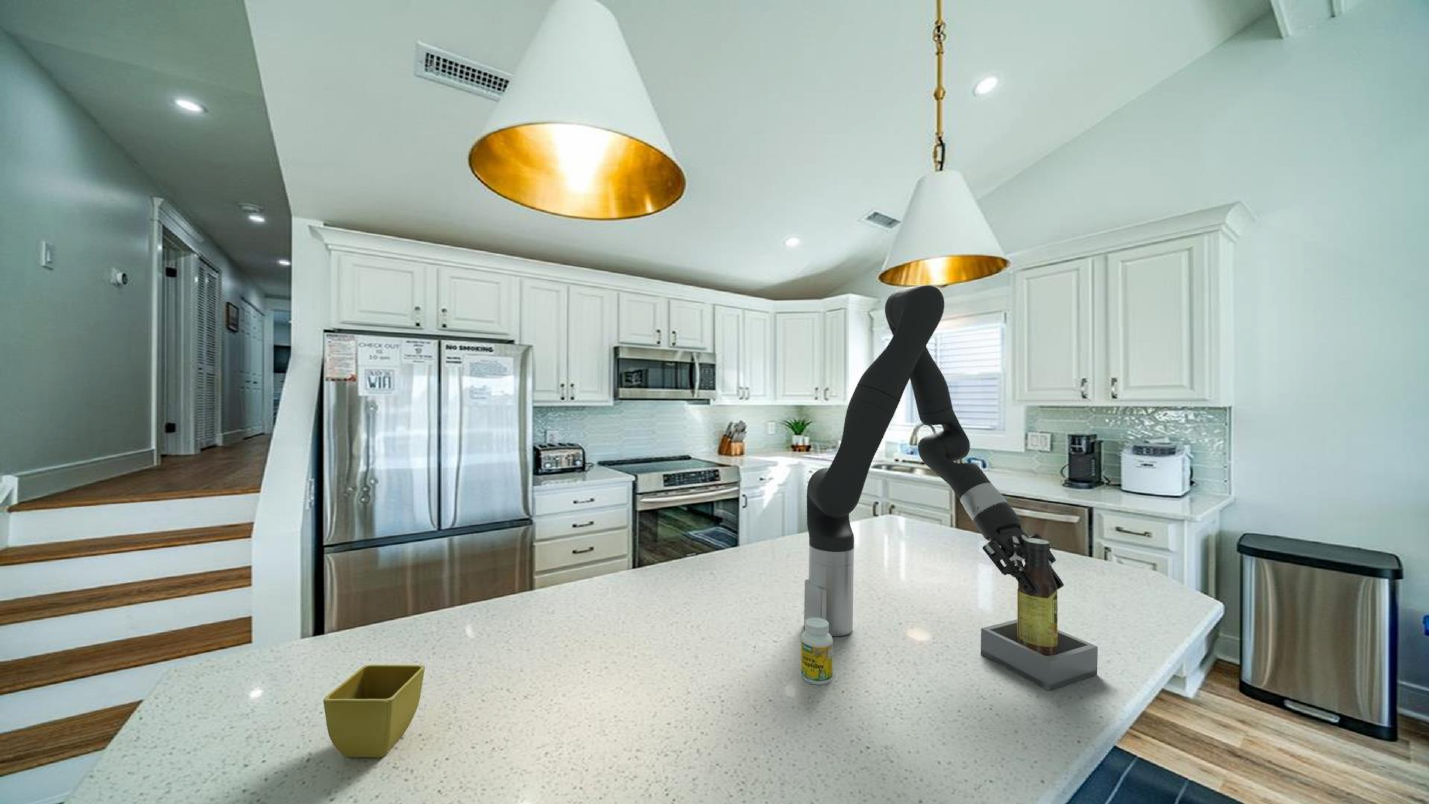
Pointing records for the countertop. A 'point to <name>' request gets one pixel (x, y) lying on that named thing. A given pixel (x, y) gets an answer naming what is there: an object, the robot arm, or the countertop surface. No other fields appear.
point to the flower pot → (373, 708)
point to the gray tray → (1040, 657)
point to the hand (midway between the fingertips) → (1047, 590)
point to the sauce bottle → (1038, 601)
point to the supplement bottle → (816, 652)
